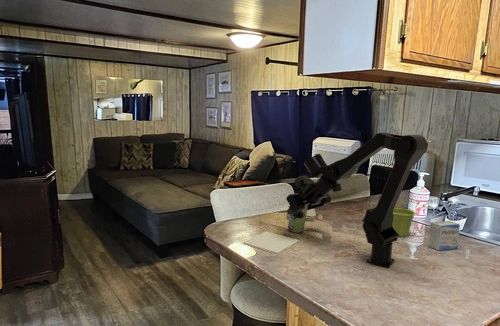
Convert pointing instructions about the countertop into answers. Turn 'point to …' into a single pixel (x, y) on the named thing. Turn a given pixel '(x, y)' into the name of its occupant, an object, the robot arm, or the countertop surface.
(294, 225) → the beverage can
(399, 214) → the plant pot
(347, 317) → the countertop surface
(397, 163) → the robot arm
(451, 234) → the medicine box
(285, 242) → the cream mat
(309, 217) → the washcloth
